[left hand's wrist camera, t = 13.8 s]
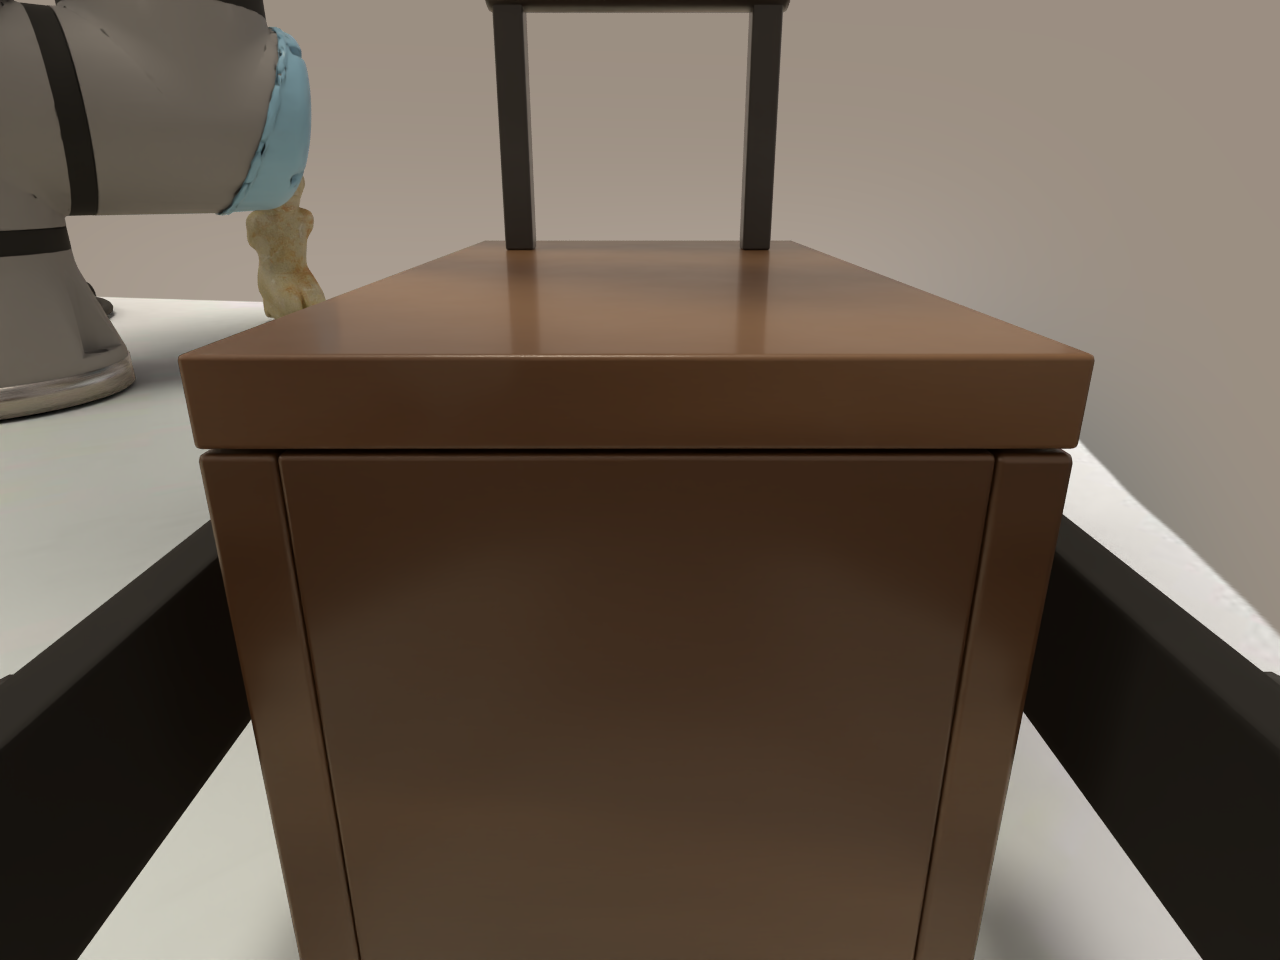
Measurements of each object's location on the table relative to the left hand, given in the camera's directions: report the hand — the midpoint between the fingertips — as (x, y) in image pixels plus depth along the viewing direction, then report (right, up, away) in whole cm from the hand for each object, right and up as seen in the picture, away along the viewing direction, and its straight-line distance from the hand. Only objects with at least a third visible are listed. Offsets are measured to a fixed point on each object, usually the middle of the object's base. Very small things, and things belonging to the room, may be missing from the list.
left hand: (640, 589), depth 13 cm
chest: (0, -5, +6) cm, 8 cm away
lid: (0, +5, +3) cm, 6 cm away
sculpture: (-33, +17, +63) cm, 73 cm away
